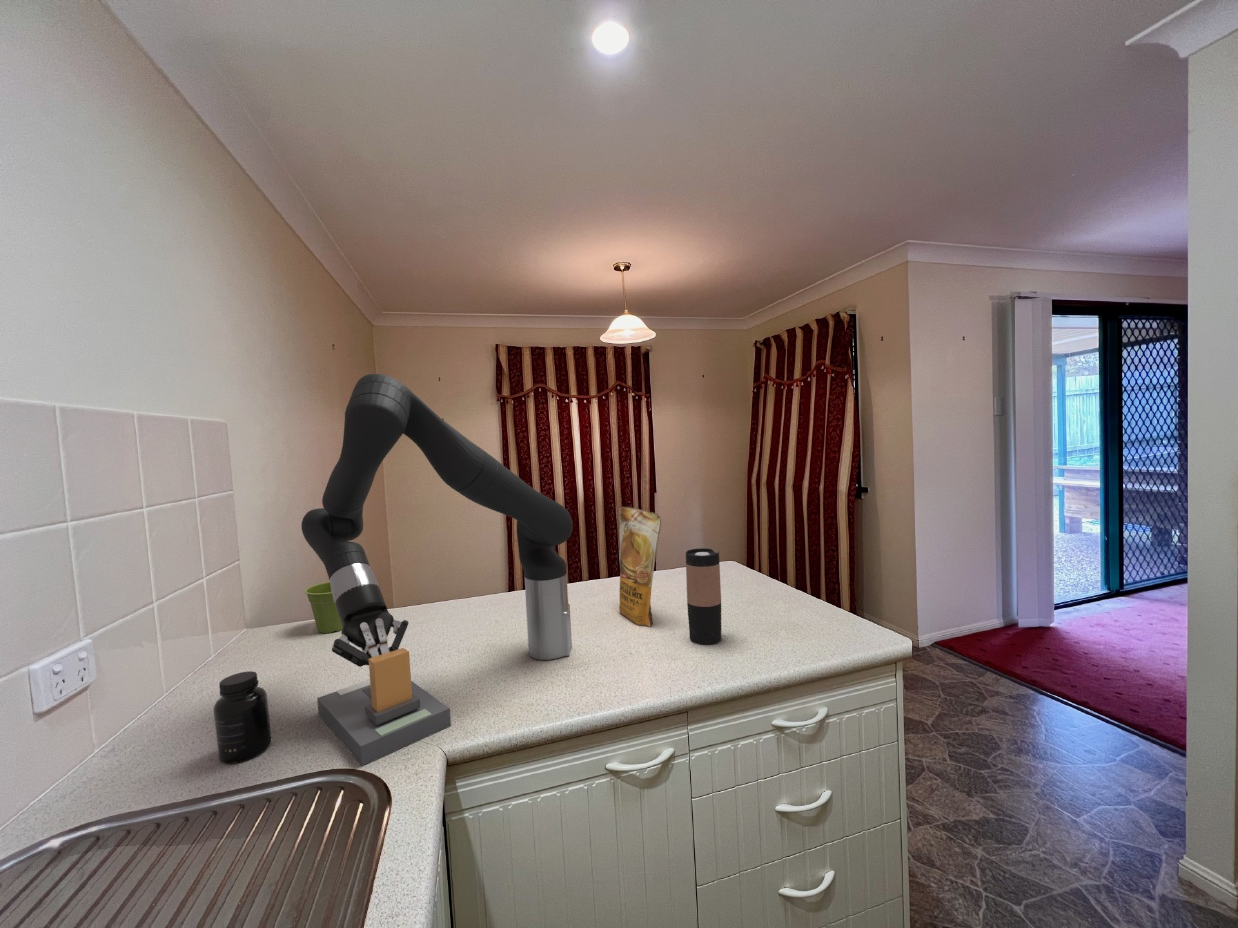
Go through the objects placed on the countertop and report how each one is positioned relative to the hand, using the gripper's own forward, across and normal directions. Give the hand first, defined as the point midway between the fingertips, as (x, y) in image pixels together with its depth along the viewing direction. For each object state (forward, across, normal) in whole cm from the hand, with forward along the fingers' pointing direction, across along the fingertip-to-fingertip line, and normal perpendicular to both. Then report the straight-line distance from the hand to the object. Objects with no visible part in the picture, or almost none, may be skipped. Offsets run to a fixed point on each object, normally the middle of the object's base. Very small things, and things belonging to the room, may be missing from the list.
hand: (387, 681), depth 87 cm
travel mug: (+19, +63, -8) cm, 66 cm away
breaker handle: (+4, 0, +2) cm, 5 cm away
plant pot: (-36, +8, +49) cm, 62 cm away
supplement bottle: (-2, -18, +13) cm, 23 cm away
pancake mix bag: (+3, +64, +8) cm, 65 cm away
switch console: (+3, 0, +8) cm, 8 cm away
